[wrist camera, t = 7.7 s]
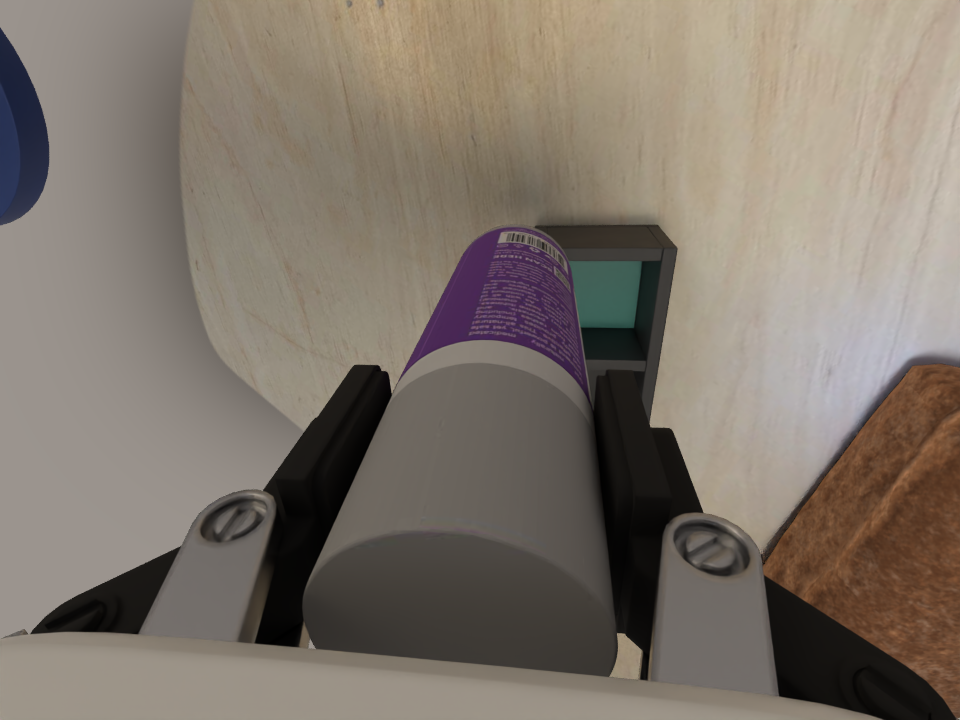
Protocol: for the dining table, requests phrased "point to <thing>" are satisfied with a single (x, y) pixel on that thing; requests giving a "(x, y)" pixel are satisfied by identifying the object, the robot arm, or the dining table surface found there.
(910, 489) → the bread
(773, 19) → the dining table surface
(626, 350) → the dark grey divided box
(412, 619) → the container
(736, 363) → the dining table surface
